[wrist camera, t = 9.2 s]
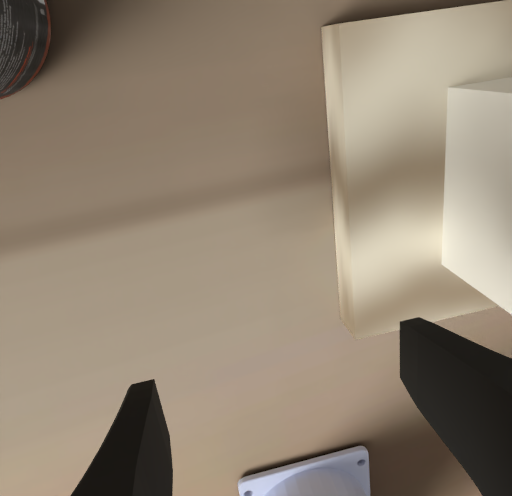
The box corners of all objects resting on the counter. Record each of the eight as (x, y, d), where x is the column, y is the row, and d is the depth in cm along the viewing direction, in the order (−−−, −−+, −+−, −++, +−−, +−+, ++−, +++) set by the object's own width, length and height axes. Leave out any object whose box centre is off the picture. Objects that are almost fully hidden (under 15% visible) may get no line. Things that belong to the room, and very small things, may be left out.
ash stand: (574, 265, 26) (605, 280, 24) (340, 319, 24) (355, 340, 22) (620, -16, 21) (665, -23, 19) (321, 27, 19) (339, 23, 17)
